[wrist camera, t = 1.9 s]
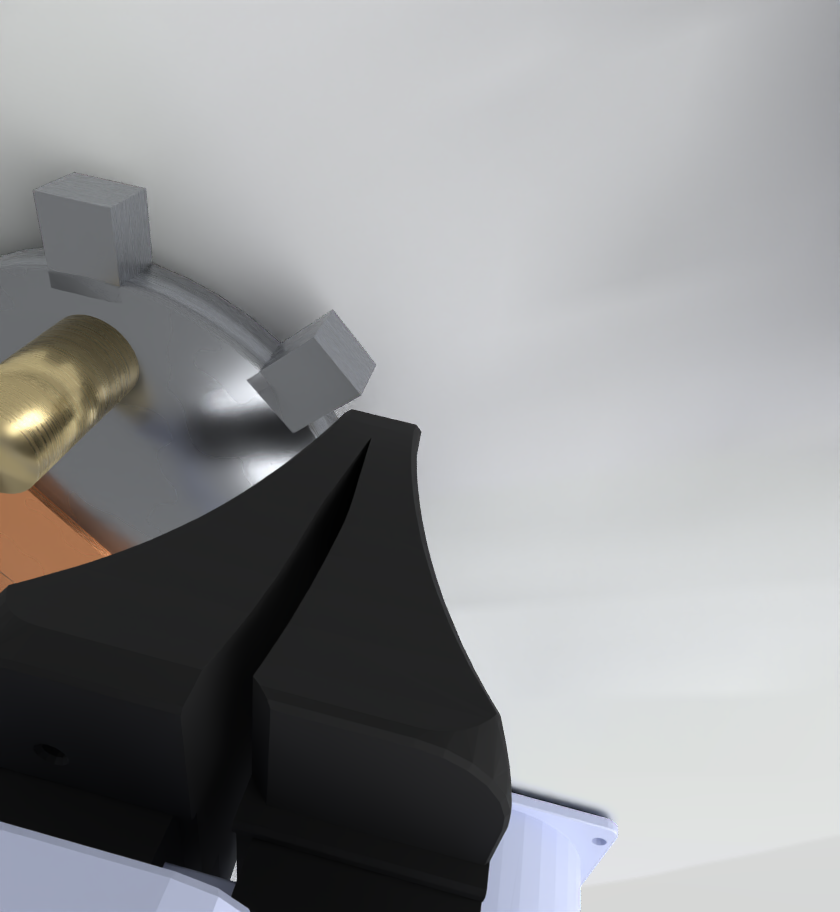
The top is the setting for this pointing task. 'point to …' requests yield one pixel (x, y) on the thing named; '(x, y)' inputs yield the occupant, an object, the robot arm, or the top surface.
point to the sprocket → (138, 387)
